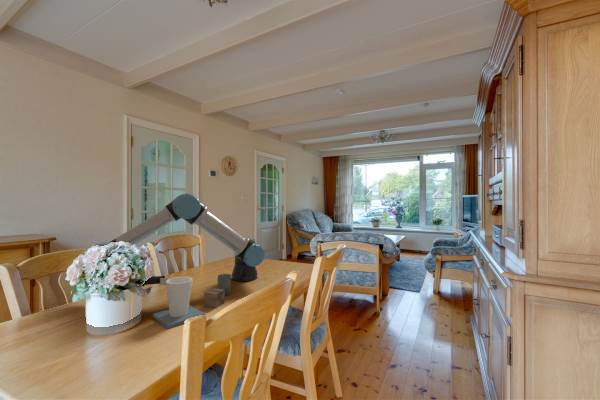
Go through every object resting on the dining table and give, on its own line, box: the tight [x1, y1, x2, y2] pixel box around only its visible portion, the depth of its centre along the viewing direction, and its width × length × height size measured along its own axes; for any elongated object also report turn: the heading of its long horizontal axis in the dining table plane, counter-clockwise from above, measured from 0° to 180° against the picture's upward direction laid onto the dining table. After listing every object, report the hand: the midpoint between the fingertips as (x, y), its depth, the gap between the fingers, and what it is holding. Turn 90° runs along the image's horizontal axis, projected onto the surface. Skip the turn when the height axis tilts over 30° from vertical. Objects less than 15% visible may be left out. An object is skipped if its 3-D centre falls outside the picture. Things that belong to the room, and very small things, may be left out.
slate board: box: [152, 304, 206, 330], centre depth 105 cm, size 14×14×1 cm
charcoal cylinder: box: [217, 273, 232, 297], centre depth 131 cm, size 6×6×9 cm
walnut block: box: [203, 287, 225, 309], centre depth 118 cm, size 6×6×6 cm
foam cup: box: [165, 276, 194, 317], centre depth 105 cm, size 10×9×13 cm
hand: (159, 287), depth 108 cm, fingers open, 13 cm apart
